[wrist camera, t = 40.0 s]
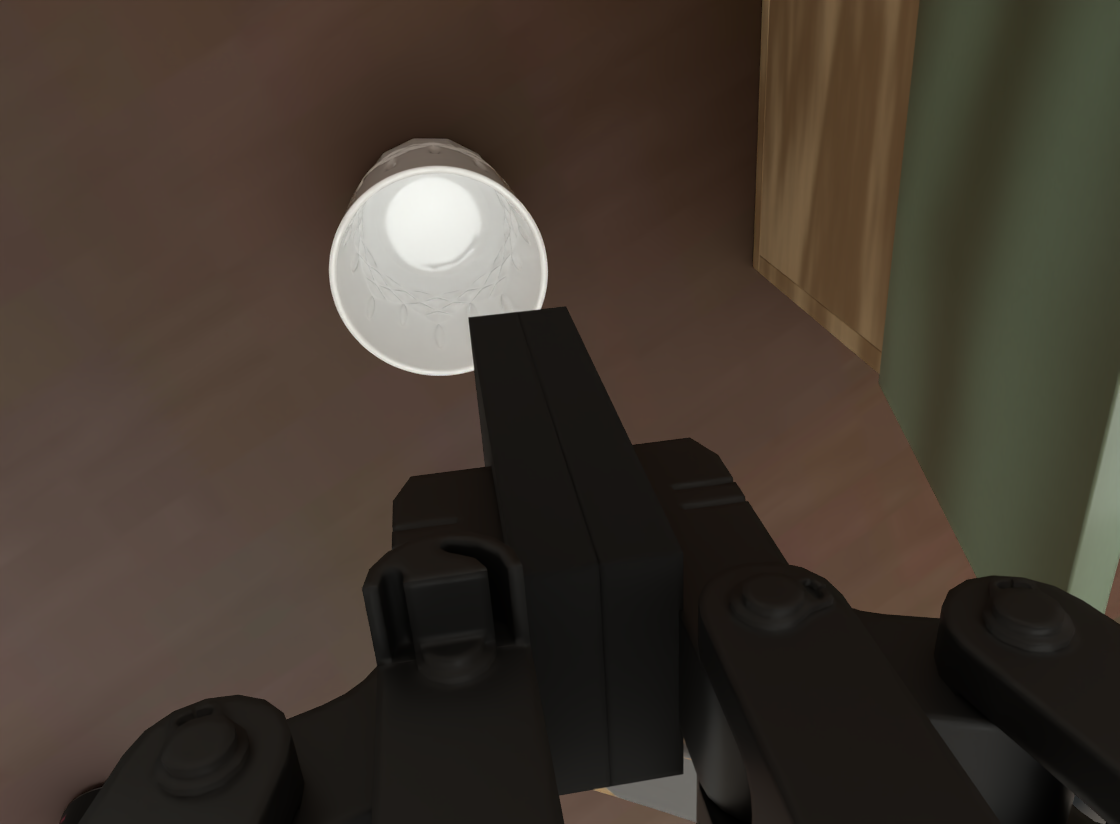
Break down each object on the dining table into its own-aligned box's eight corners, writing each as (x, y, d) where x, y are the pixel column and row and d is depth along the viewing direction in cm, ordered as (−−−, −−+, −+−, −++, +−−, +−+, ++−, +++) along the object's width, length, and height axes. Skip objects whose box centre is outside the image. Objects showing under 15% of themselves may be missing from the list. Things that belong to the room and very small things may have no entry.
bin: (1091, -139, 39) (1405, -190, 27) (1025, 237, 47) (1248, 332, 34) (766, -120, 38) (943, -164, 25) (752, 267, 45) (883, 378, 33)
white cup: (532, 272, 43) (565, 349, 35) (372, 309, 43) (364, 397, 34) (497, 105, 40) (524, 143, 31) (322, 144, 39) (299, 194, 31)
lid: (1355, -322, 11) (1284, -315, 11) (1081, 706, 18) (1040, 705, 19) (966, -167, 25) (936, -165, 25) (900, 383, 32) (878, 383, 32)
